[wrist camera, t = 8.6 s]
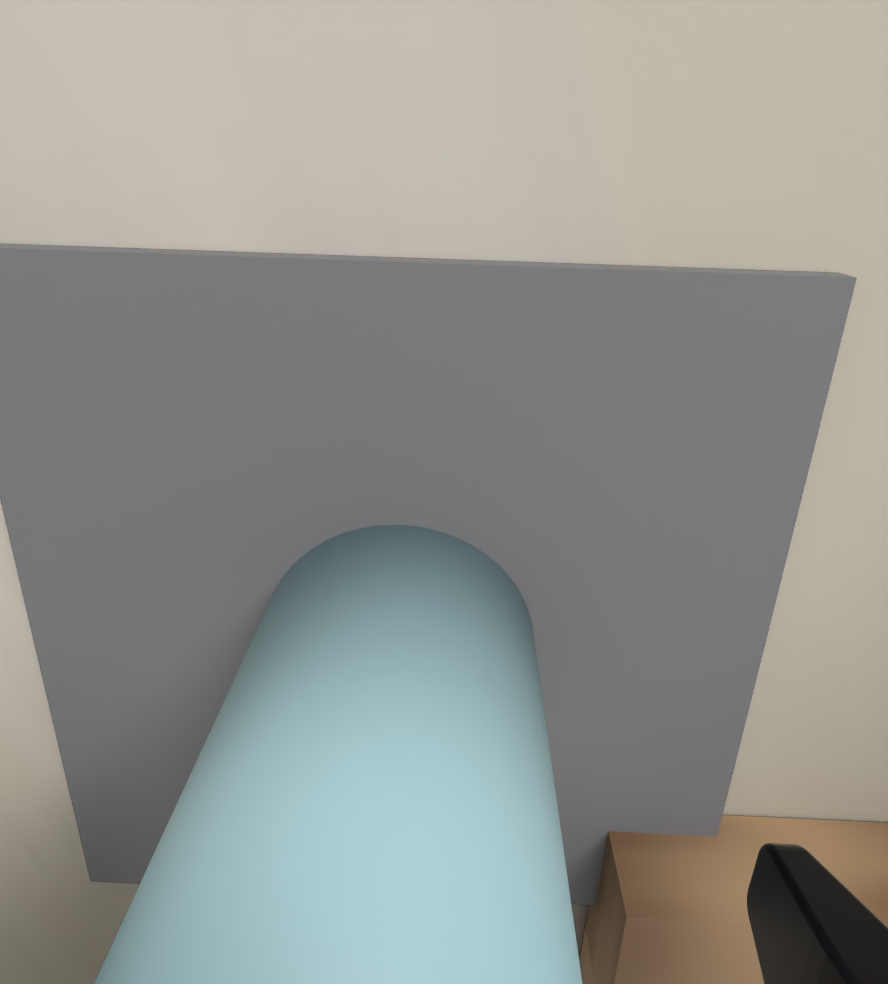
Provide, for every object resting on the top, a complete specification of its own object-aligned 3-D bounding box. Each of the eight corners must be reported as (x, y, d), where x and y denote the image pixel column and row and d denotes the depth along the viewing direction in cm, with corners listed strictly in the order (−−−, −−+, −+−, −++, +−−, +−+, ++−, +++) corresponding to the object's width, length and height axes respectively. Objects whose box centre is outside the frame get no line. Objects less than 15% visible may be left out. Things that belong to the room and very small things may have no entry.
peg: (545, 530, 11) (765, 1562, 3) (523, 755, 13) (620, 1789, 5) (256, 518, 11) (-340, 1495, 3) (273, 743, 13) (-66, 1742, 5)
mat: (838, 272, 10) (856, 277, 10) (691, 886, 15) (698, 910, 14) (-36, 242, 10) (-61, 246, 10) (102, 859, 15) (90, 881, 15)
